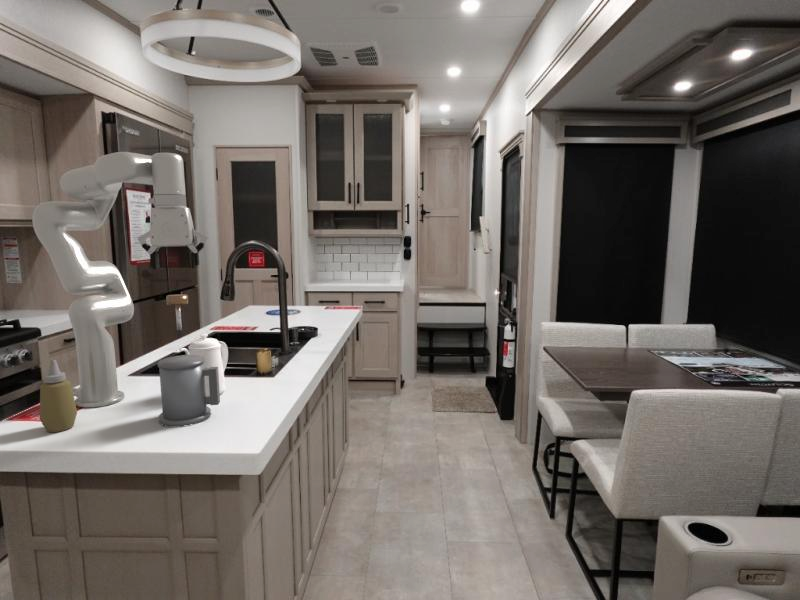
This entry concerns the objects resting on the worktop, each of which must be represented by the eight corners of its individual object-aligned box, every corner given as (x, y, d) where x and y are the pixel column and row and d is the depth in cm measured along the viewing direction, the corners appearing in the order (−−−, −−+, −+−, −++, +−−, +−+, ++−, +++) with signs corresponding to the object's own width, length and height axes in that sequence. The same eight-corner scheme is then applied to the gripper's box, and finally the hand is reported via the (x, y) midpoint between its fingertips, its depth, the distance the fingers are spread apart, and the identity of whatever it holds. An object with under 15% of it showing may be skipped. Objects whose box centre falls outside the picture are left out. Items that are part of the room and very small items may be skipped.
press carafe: (151, 428, 129) (147, 367, 126) (167, 410, 141) (163, 355, 139) (214, 424, 131) (211, 365, 129) (224, 407, 144) (221, 353, 141)
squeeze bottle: (37, 436, 124) (29, 366, 121) (45, 425, 131) (38, 358, 128) (75, 431, 127) (68, 362, 124) (81, 420, 134) (74, 355, 132)
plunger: (166, 332, 130) (163, 297, 128) (172, 328, 135) (169, 294, 133) (187, 331, 130) (184, 296, 129) (192, 327, 135) (190, 294, 134)
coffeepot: (164, 406, 145) (160, 342, 142) (213, 380, 169) (210, 326, 166) (198, 408, 143) (194, 344, 140) (242, 382, 167) (240, 327, 164)
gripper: (129, 202, 124) (135, 270, 127) (201, 201, 127) (206, 268, 129) (140, 203, 132) (146, 268, 134) (208, 203, 134) (213, 266, 137)
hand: (175, 268), depth 132 cm, fingers open, 9 cm apart
